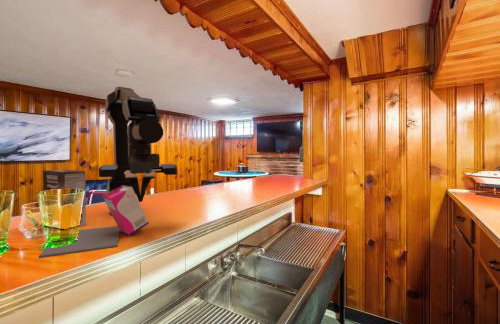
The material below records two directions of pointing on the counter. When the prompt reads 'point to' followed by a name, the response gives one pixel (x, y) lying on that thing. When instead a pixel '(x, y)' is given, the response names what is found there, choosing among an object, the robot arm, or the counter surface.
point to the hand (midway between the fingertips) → (140, 201)
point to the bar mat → (88, 241)
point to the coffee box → (66, 183)
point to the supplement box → (126, 209)
